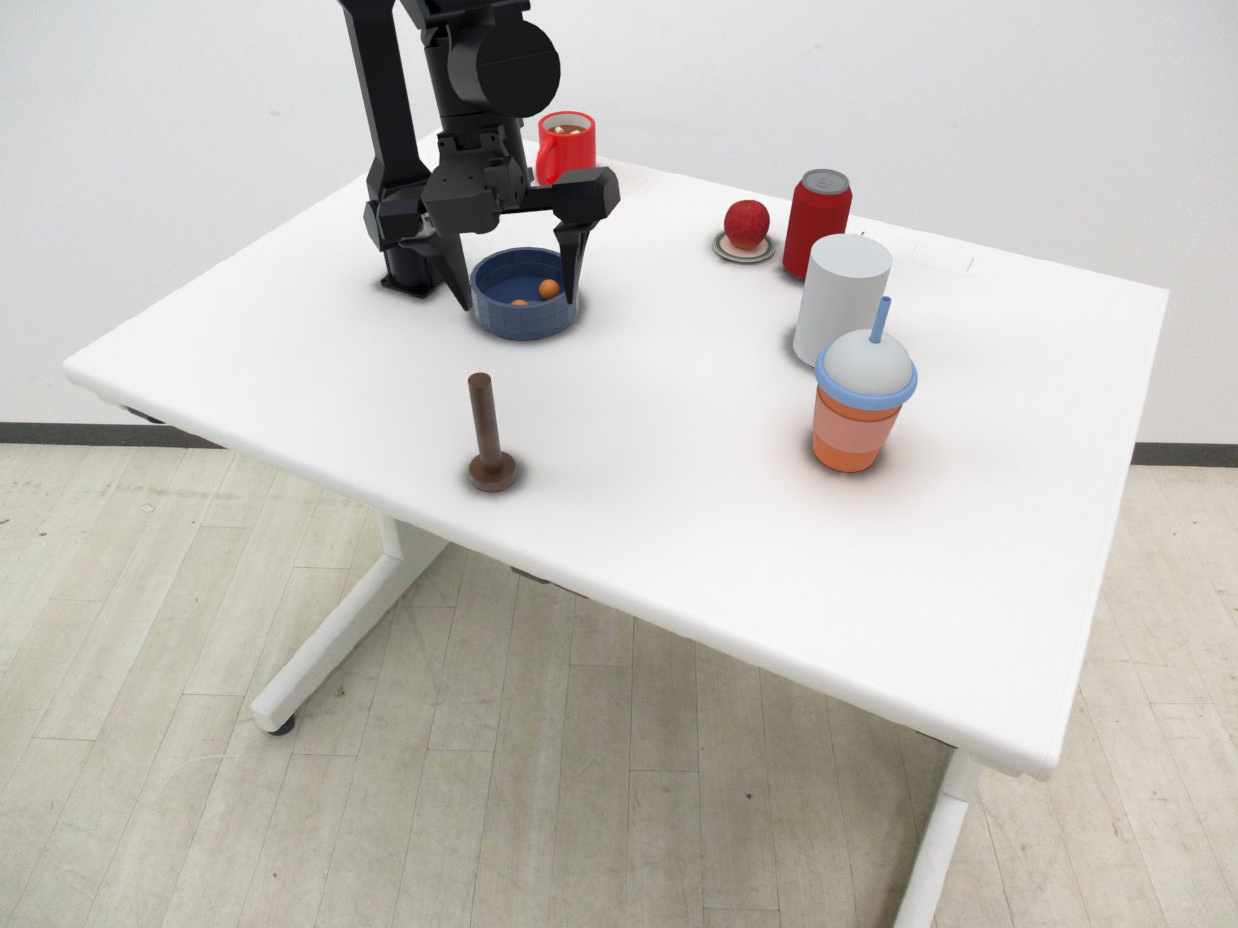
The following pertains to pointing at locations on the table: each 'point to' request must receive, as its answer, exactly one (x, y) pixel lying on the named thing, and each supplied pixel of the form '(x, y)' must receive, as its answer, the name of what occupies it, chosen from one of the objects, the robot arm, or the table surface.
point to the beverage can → (815, 216)
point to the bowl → (520, 294)
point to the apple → (745, 233)
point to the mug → (564, 145)
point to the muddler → (488, 439)
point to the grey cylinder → (840, 291)
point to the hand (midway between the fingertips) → (519, 306)
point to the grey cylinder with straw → (860, 394)
